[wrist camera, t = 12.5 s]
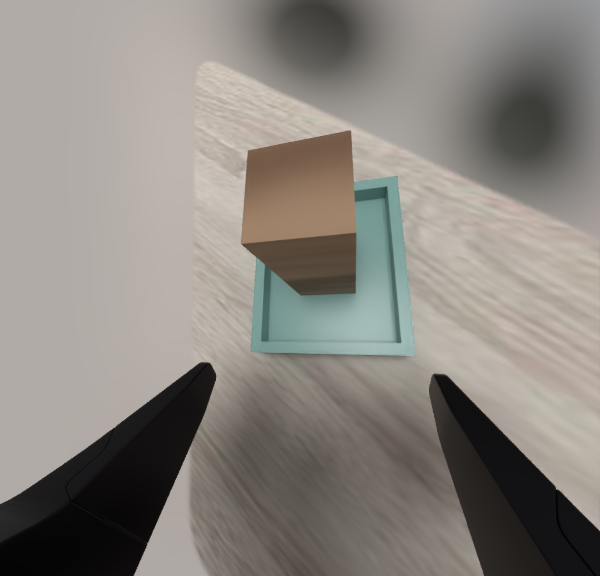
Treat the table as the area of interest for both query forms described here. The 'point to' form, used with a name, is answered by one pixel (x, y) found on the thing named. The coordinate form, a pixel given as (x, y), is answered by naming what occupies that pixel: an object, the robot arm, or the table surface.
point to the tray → (346, 307)
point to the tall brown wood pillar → (303, 213)
